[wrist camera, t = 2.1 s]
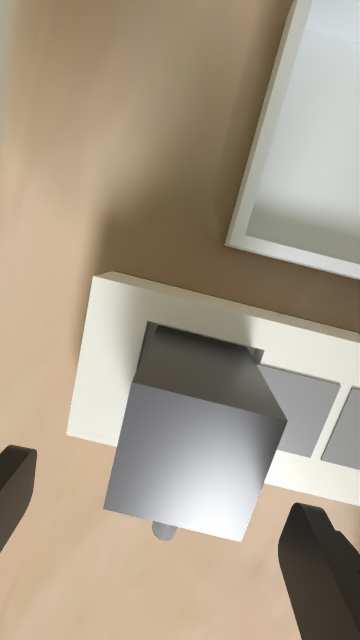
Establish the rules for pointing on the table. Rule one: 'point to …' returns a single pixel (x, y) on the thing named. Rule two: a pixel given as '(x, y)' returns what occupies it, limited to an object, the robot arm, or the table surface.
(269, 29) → the table surface
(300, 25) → the tray
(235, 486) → the block
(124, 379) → the power strip
